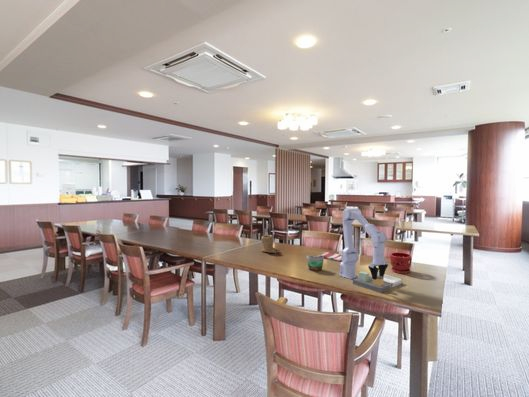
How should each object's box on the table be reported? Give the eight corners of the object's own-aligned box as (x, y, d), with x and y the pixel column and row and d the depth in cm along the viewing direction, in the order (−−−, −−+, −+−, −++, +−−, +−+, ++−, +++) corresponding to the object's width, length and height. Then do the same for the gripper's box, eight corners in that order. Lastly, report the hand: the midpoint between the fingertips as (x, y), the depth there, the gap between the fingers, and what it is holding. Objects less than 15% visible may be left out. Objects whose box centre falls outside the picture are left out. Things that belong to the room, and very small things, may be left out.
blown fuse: (372, 287, 162) (372, 276, 162) (375, 286, 164) (375, 274, 164) (380, 290, 158) (380, 278, 158) (383, 289, 160) (383, 277, 160)
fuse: (358, 283, 169) (358, 272, 169) (361, 282, 171) (361, 271, 171) (366, 285, 165) (366, 274, 165) (368, 284, 167) (369, 273, 167)
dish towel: (344, 263, 214) (344, 259, 214) (317, 257, 229) (317, 254, 229) (353, 258, 227) (353, 255, 227) (327, 253, 242) (327, 250, 242)
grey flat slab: (352, 283, 169) (352, 279, 169) (361, 280, 175) (361, 276, 174) (380, 293, 155) (380, 288, 155) (389, 289, 160) (389, 284, 160)
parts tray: (367, 280, 175) (368, 276, 175) (378, 276, 182) (378, 272, 182) (392, 287, 163) (392, 283, 163) (402, 283, 170) (402, 279, 170)
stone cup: (258, 252, 245) (258, 235, 244) (266, 249, 254) (266, 233, 254) (272, 255, 236) (272, 237, 235) (280, 252, 246) (280, 235, 245)
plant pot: (392, 267, 201) (393, 251, 201) (413, 271, 193) (413, 254, 192) (387, 272, 191) (387, 254, 191) (408, 276, 183) (409, 258, 182)
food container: (306, 271, 192) (306, 257, 192) (306, 268, 198) (306, 254, 198) (324, 272, 191) (324, 257, 190) (324, 269, 197) (324, 255, 196)
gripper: (378, 257, 152) (377, 282, 153) (391, 253, 161) (391, 277, 162) (366, 255, 158) (366, 278, 159) (380, 251, 167) (379, 273, 168)
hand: (378, 277), depth 161 cm, fingers open, 7 cm apart
